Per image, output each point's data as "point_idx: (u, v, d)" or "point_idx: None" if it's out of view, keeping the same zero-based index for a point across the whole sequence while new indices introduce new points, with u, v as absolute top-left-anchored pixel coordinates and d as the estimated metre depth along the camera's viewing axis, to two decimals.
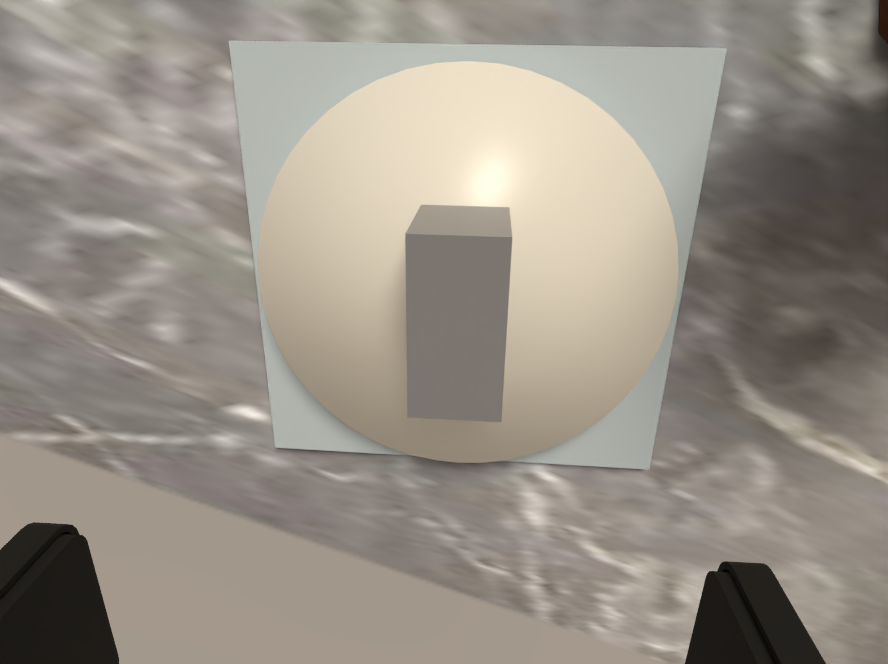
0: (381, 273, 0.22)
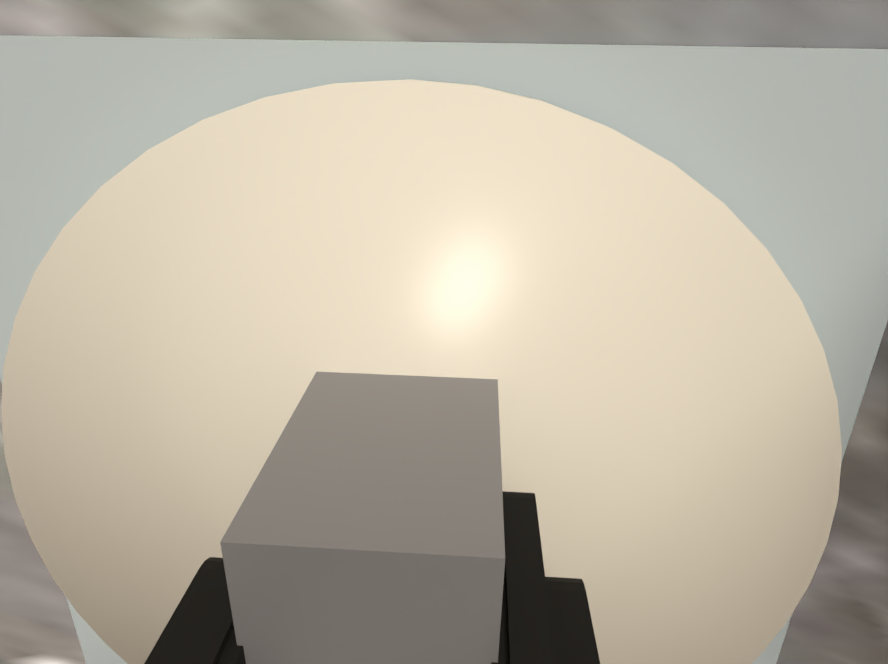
0: (248, 491, 0.11)
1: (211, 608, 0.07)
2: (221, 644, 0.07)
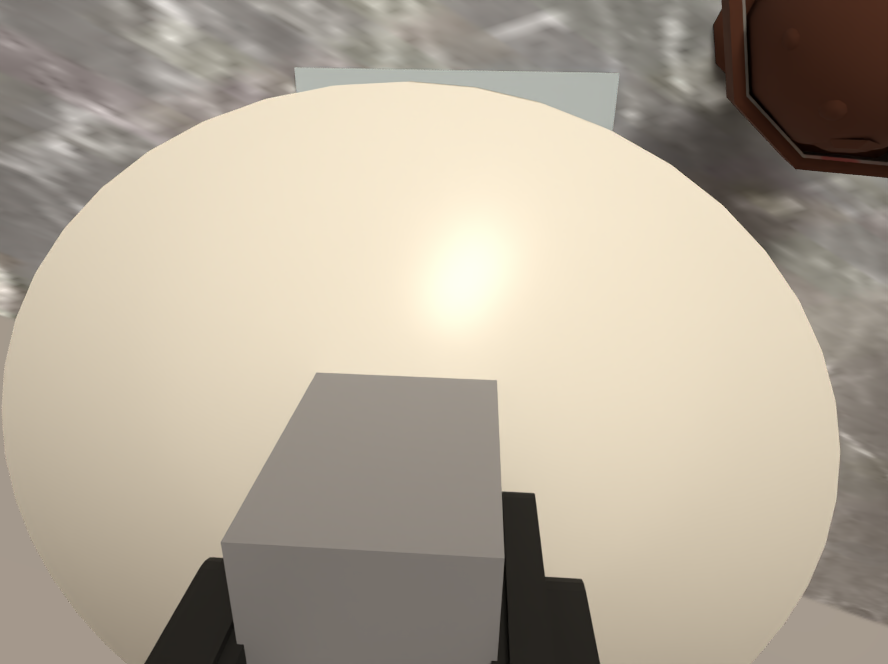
0: (248, 492, 0.11)
1: (211, 608, 0.07)
2: (221, 644, 0.07)
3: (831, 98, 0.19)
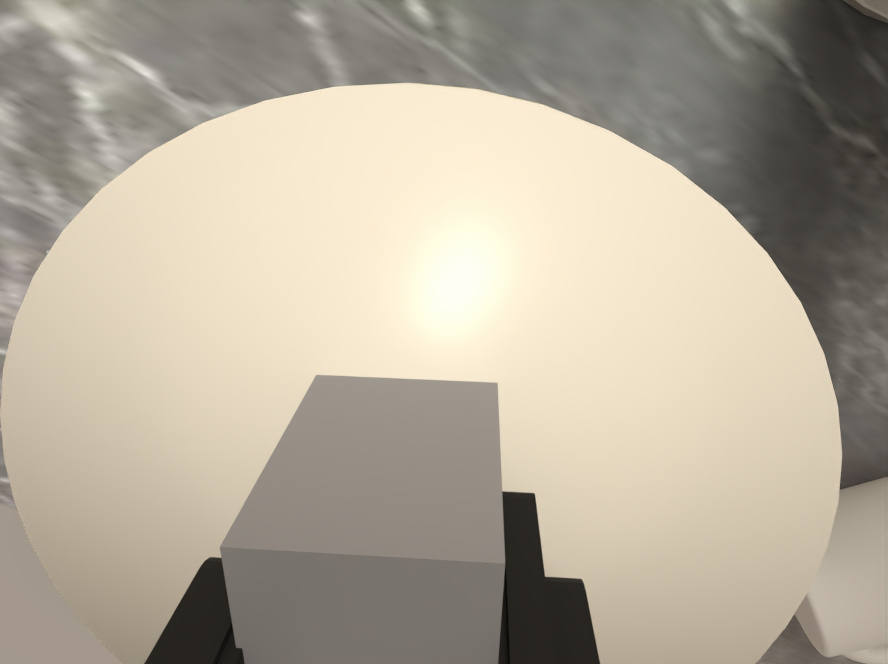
0: (247, 495, 0.11)
1: (211, 608, 0.07)
2: (221, 644, 0.07)
3: None
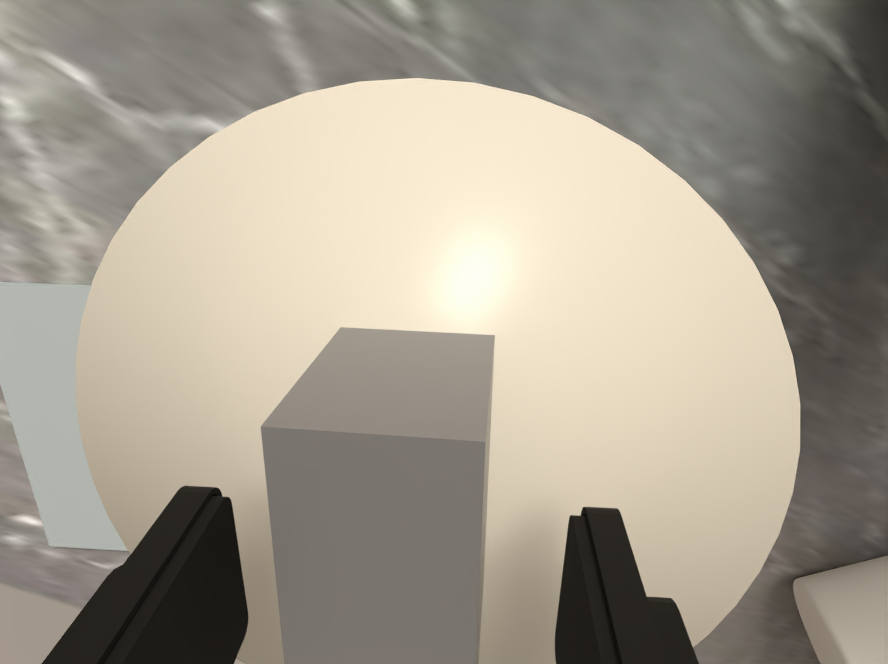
0: None
1: (97, 620, 0.07)
2: (100, 658, 0.07)
3: None
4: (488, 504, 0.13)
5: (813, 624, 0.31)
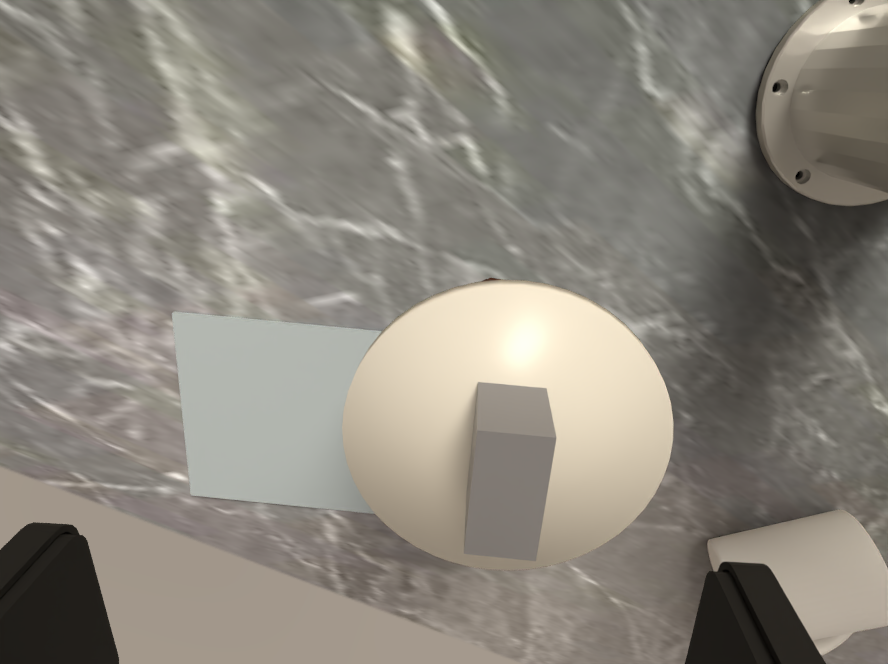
0: (441, 428, 0.28)
1: None
2: None
3: None
4: None
5: (717, 569, 0.47)
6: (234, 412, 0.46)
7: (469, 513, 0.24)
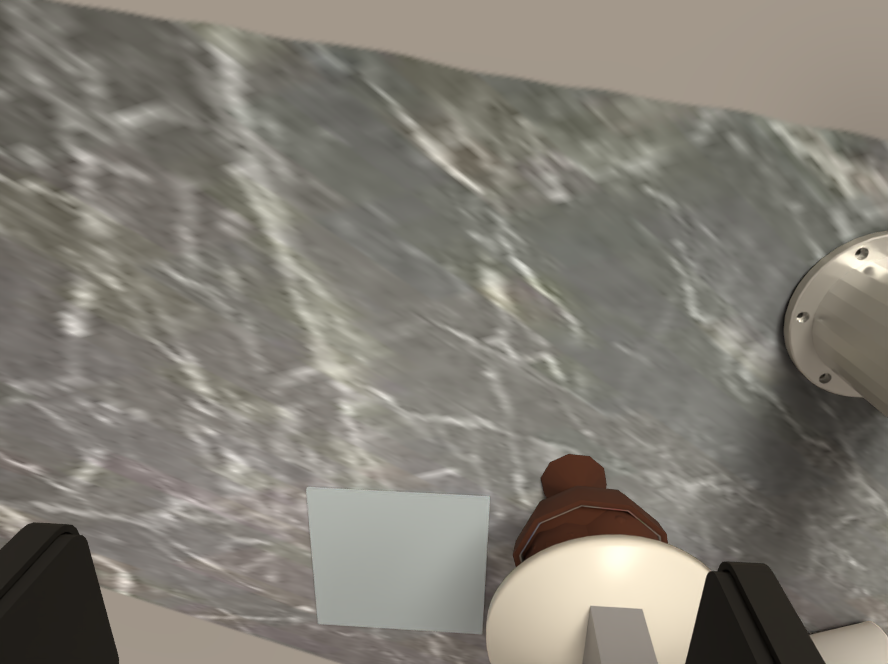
0: (561, 635, 0.37)
1: None
2: None
3: None
4: None
5: None
6: (356, 560, 0.56)
7: None
